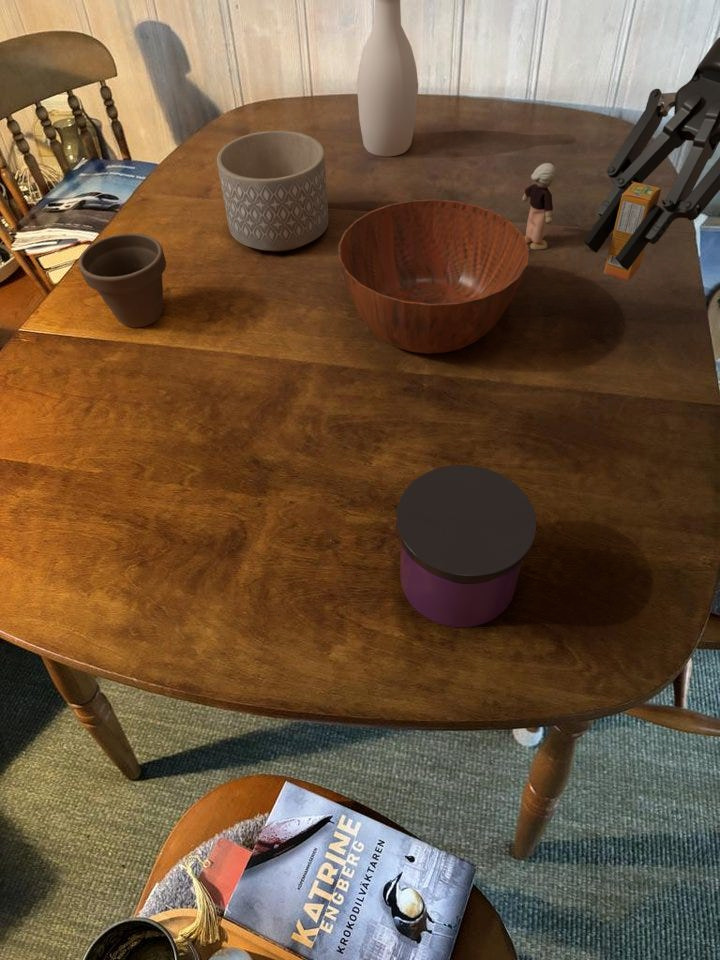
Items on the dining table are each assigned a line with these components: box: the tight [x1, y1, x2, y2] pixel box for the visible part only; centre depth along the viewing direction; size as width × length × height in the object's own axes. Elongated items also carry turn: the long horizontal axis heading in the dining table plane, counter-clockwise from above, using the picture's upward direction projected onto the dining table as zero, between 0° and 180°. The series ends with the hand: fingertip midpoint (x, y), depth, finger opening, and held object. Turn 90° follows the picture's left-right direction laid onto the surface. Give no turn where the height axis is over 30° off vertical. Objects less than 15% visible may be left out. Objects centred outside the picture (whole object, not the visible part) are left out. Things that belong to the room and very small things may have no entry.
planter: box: [216, 130, 330, 252], centre depth 115 cm, size 16×16×13 cm
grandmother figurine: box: [522, 162, 556, 251], centre depth 110 cm, size 8×4×13 cm, turn 34°
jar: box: [395, 464, 538, 628], centre depth 71 cm, size 13×13×10 cm
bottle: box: [356, 0, 419, 158], centre depth 128 cm, size 11×11×25 cm
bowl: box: [337, 198, 530, 355], centre depth 99 cm, size 25×25×11 cm
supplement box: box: [603, 182, 662, 282], centre depth 80 cm, size 3×3×10 cm
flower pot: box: [78, 232, 167, 328], centre depth 101 cm, size 12×11×10 cm
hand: (605, 255), depth 80 cm, fingers closed on supplement box, 4 cm apart
